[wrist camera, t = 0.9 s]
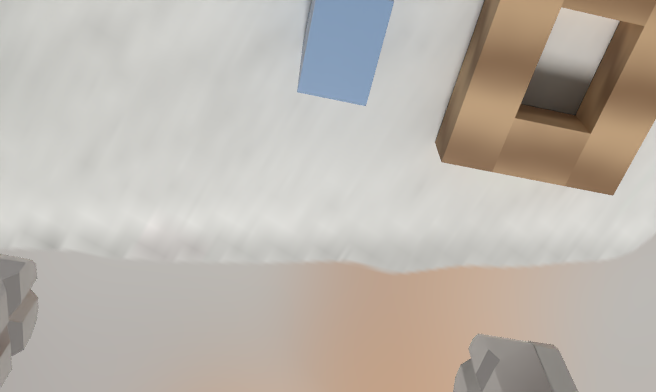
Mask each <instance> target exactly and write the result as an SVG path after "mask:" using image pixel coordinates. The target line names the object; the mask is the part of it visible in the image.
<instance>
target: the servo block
mask: <svg viewBox="0 0 656 392" xmlns="http://www.w3.org/2000/svg"><path fill="white" fill-rule="evenodd" d="M393 3H394V0H312V2H311V7H310V12H309V17H308V22H307V27H306V32H305V37H304V43H303V48H302V56H301V65H300V73H299V81H298V90H297V92H299V93H304V94H309V95H314V96H319V97H324V98H329V99H334V100H339V101H344V102H349V103H353V104H358V105H363V106H366V103H367V100H368V96H369V92H370V89H371V85H372V81H373V77H374V74H375V70H376V66H377V63H378V59H379V55H380V51H381V48H382V44H383V40H384V37H385V33H386V29H387V25H388V22H389V18H390V14H391V11H392V7H393Z"/></svg>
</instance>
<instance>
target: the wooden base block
mask: <svg viewBox="0 0 656 392" xmlns="http://www.w3.org/2000/svg"><path fill="white" fill-rule="evenodd" d="M561 7H563V8H568V9H572V10H576V11H581V12H585V13H589V14H594V15H598V16H602V17H607V18H611V19H615V20H620V23H619V25H618V27H617V29H616V31H615V33H614V35H613V38H612V40H611V42H610V44H609V46H608V48H607V50H606V52H605V54H604V56H603V59H602V61H601V63H600V65H599V67H598V69H597V71H596V73H595V75H594V77H593V80H592V82H591V84H590V86H589V88H588V90H587V92H586V94H585V96H584V98H583V101H582V103H581V105H580V107H579V109H578V111H577V113H576V115H571V114H566V113H561V112H556V111H552V110H547V109H542V108H537V107H533V106H528V105H523V104H521V102H522V100H523V97H524V95H525V92H526V90H527V88H528V85H529V83H530V80H531V78H532V76H533V73H534V71H535V68H536V66H537V64H538V61H539V59H540V56H541V54H542V52H543V49H544V47H545V45H546V42H547V40H548V37H549V35H550V33H551V30H552V28H553V25H554V23H555V21H556V18H557V16H558V13H559V11H560V9H561ZM655 119H656V0H485V1H484V4H483V7H482V10H481V12H480V15H479V18H478V21H477V24H476V27H475V30H474V32H473V35H472V38H471V41H470V44H469V47H468V50H467V53H466V55H465V58H464V61H463V64H462V67H461V70H460V73H459V76H458V78H457V81H456V84H455V87H454V90H453V93H452V96H451V98H450V101H449V104H448V107H447V110H446V113H445V116H444V119H443V121H442V124H441V127H440V130H439V133H438V136H437V139H436V141H435V144H436V147H437V150H438V153H439V156H440V159H441V162H444V163H449V164H454V165H459V166H465V167H470V168H475V169H480V170H485V171H490V172H495V173H500V174H506V175H511V176H516V177H521V178H526V179H531V180H536V181H542V182H547V183H552V184H557V185H562V186H567V187H572V188H577V189H583V190H588V191H593V192H598V193H603V194H608V195H614V193H615V191H616V189H617V187H618V186H619V184H620V182H621V180H622V178H623V177H624V175H625V173H626V171H627V169H628V168H629V166H630V164H631V162H632V160H633V159H634V157H635V155H636V153H637V151H638V150H639V148H640V146H641V144H642V142H643V141H644V139H645V137H646V135H647V133H648V132H649V130H650V128H651V126H652V124H653V123H654V121H655Z"/></svg>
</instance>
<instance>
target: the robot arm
mask: <svg viewBox="0 0 656 392" xmlns="http://www.w3.org/2000/svg"><path fill="white" fill-rule="evenodd" d="M36 279H37V269H36V263H35V262H34V261H33V260H30V259H25V258H19V257H15V256H9V255H3V254H0V388H1V387H2V385H3V383H4V382H5V380H6V378H7V377H8V375H9V373H10V372H11V370H12V362H11V356H13V355H15V354H17V353H18V352H20V351H22V350H24V348H25V346H26V345H27V343H28V341H29V339H30V338H31V335H32V332H33V329H34V327H35V324H36V320H37V313H38V297H37V296H36V295H35V293H34V292H33V291H32V290H31V287H32V286H33V284H34V282H35V281H36ZM469 352H470V355H471V359H469V360H468V361H466V362H465V363H463V364H461V366H460V368H459V370H458V373H457V375H456V377H455V384H454V390H453V392H578V390H577V388H576V386H575V384H574V382H573V379H572V377H571V375H570V373H569V371H568V369H567V366H566V364H565V362H564V360H563V358H562V356H561V354H560V352H559V350H558V349H557V348H556V347H555V346H554V345H551V344H544V343H537V342H531V341H528V342H526V341H521V340H515V339H508V338H502V337H496V336H489V335H483V334H478V335H476V336H475V337H474V338H473V340H472V342H471V344H470V346H469Z"/></svg>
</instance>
